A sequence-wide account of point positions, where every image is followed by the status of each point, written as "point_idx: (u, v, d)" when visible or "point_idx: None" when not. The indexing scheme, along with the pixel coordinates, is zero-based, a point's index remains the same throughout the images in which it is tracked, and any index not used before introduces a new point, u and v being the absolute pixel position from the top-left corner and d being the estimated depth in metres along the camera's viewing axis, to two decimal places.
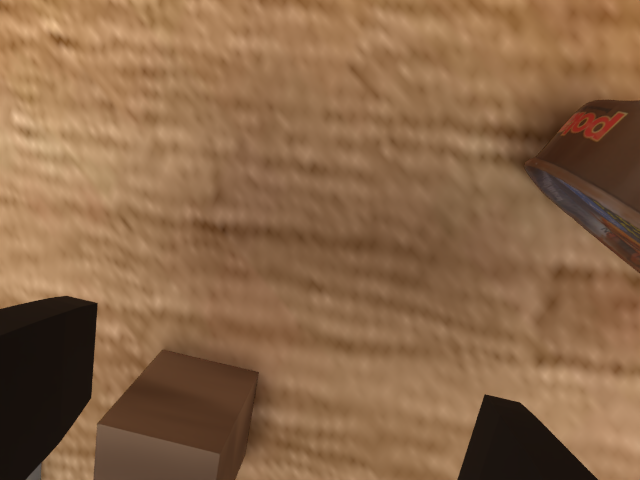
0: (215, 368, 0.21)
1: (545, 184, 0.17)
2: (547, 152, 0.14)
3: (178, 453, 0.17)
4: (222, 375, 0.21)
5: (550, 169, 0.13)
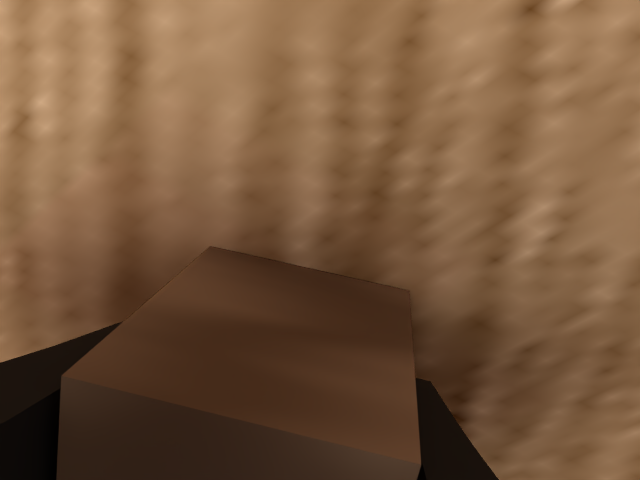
0: None
1: None
2: None
3: (86, 479, 0.06)
4: None
5: None
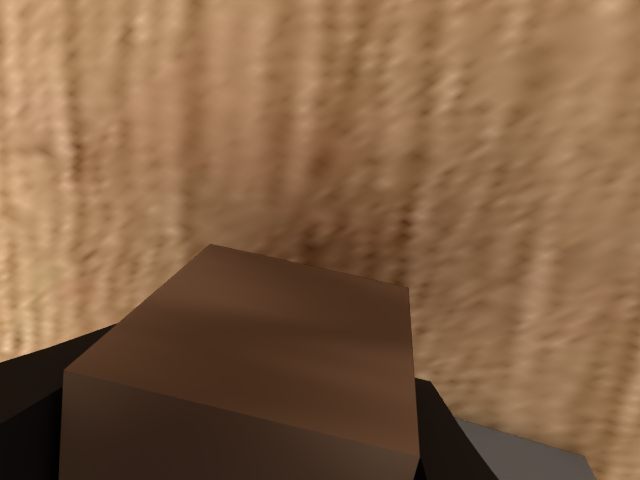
0: None
1: None
2: None
3: (88, 472, 0.06)
4: None
5: None
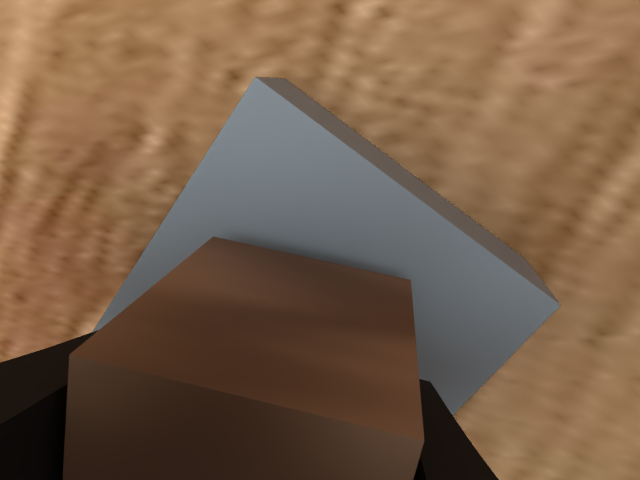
0: None
1: None
2: None
3: (92, 458, 0.06)
4: None
5: None
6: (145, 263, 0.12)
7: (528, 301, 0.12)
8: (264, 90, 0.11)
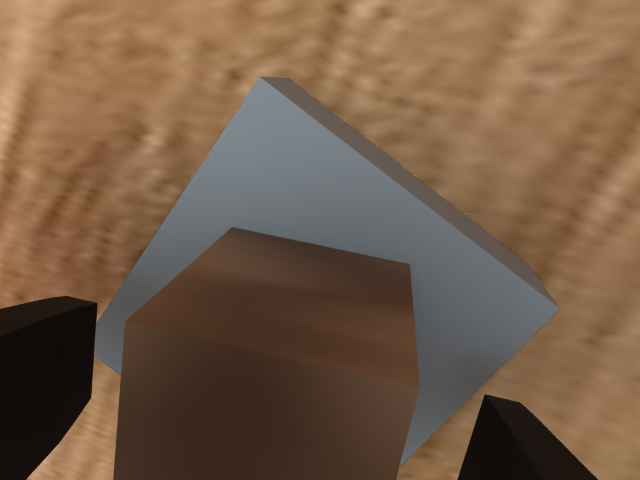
0: None
1: None
2: None
3: (143, 409, 0.08)
4: None
5: None
6: (147, 260, 0.13)
7: (527, 304, 0.12)
8: (268, 90, 0.11)
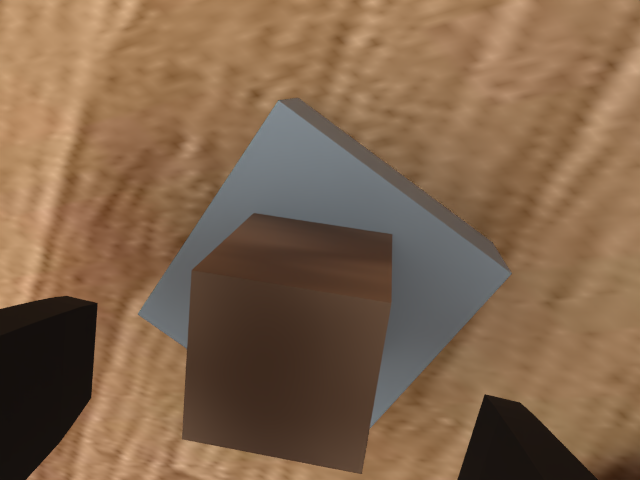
0: None
1: None
2: None
3: (205, 331, 0.11)
4: None
5: None
6: (191, 243, 0.16)
7: (487, 270, 0.15)
8: (285, 110, 0.15)
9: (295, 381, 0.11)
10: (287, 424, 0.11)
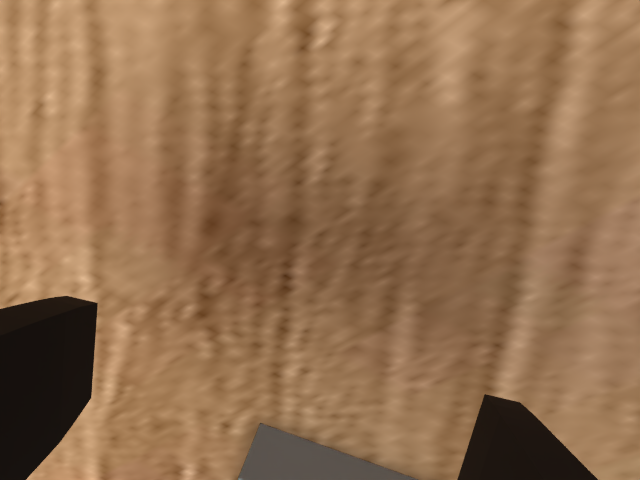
0: None
1: None
2: None
3: None
4: None
5: None
6: None
7: None
8: None
9: None
10: None
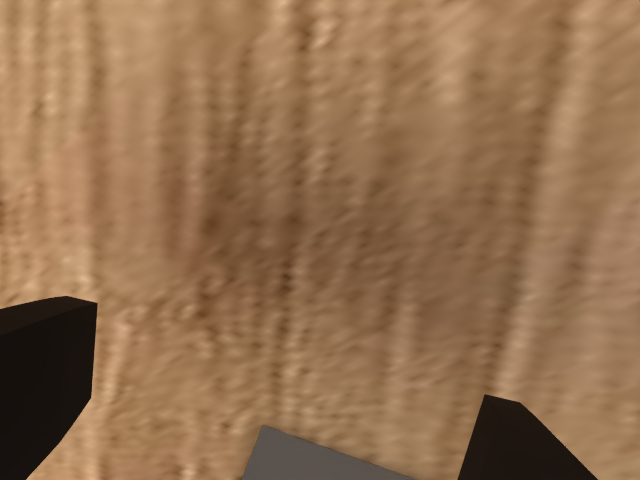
0: None
1: None
2: None
3: None
4: None
5: None
6: None
7: None
8: None
9: None
10: None
